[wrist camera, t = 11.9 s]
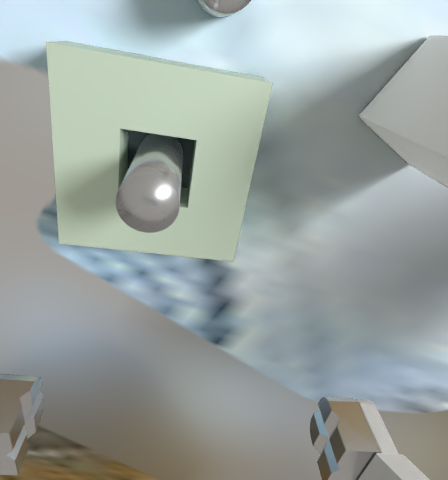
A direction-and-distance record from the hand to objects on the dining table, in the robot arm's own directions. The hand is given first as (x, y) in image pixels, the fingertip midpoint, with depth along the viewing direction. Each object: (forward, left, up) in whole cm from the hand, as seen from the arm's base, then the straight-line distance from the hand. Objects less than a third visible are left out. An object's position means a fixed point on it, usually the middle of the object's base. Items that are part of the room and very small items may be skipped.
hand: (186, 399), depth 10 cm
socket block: (+3, 0, -22) cm, 22 cm away
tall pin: (+2, 0, -22) cm, 22 cm away
